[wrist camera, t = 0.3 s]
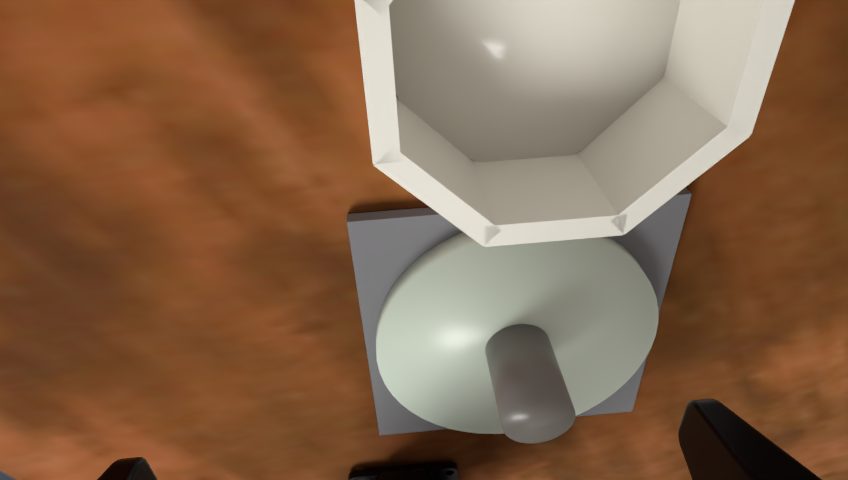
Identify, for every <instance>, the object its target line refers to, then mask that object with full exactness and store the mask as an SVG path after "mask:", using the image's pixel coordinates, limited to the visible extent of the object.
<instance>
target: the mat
mask: <svg viewBox="0 0 848 480" xmlns="http://www.w3.org/2000/svg"><path fill="white" fill-rule="evenodd" d="M691 195H692V194H691V192H690V191H689V190H688V189H687V188H686V187H685V188H684V189H682V190H681V191H680V192H678V193H677V194H676V195H675V196H673V197H672V198H671V199H670V200H668V201H667V202H666V203H664V204H663V205H662V206H661V207H659V208H658V209H657V210H655V211H654V212H653V213H652V214H650V215H649V216H648V217H647V218H645V219H644V220H643V221H641V222H640V223H639V224H638V225H636V226H635V227H634V228H633V229H631V230H630V231H629V232H627V233H626V234H625V235H624V234H623V235H621V236H610V237H612V238H613V239H615V240H616V241H617V242H619V243H620V244H621V245H623V246H624V247H625V248H626V249H627V250H628V251H629V252H630V253H631V254H632V255H633V256H634V258H635V259H636V261H637V262H638V264H639V265H640V267H641V268H642V270H643V272H644V273H645V275H646V276H647V278H648V279H649V281H650V283H651V285H652V287H653V290H654V292H655V295H656V298H657V304H658V315H659V312H660V308H661V304H662V301H663V297H664V293H665V290H666V286H667V282H668V279H669V275H670V272H671V268H672V264H673V261H674V257H675V253H676V250H677V246H678V242H679V239H680V235H681V231H682V228H683V224H684V221H685V217H686V213H687V210H688V206H689V202H690V199H691ZM347 226H348V233H349V239H350V246H351V252H352V259H353V265H354V272H355V278H356V285H357V291H358V298H359V304H360V311H361V317H362V324H363V330H364V337H365V343H366V350H367V356H368V363H369V369H370V376H371V382H372V389H373V395H374V402H375V408H376V415H377V421H378V428H379V434H380V435H391V434H401V433H411V432H422V431H432V430H443V429H449V428H446V427H442V426H439V425H436V424H434V423H431V422H429V421H427V420H424V419H422V418H421V417H419V416H417V415H415V414H414V413H412V412H411V411H409V410H408V409H407V408H405V407H404V406H403V405H402V404H400V403H399V402H398V400H397V399H396V398H395V397H394V396H393V395H392V394H391V393H390V391H389V390H388V388H387V387H386V385H385V384H384V381H383V379H382V377H381V375H380V372H379V368H378V364H377V358H376V327H377V320H378V316H379V313H380V310H381V307H382V304H383V302H384V300H385V298H386V296H387V294H388V292H389V290H390V289H391V287H392V286H393V285H394V283H395V282H396V280H397V279H398V278H399V277H400V275H401V274H402V273H403V272H404V271H405V270H406V269H407V268H408V267H409V266H410V265H411V264H412V263H413V262H415V261H416V260H417V259H418V258H419V257H421V256H422V255H423V254H424V253H426V252H427V251H429V250H430V249H432V248H433V247H435V246H437V245H438V244H440V243H441V242H443V241H445V240H447V239H449V238H451V237H453V236H455V235H457V234H459V233H462V232H463V231H462V230H460V229H459V228H457V227H456V226H455V225H453V224H452V223H451V222H449V221H448V220H447V219H445V218H444V217H443V216H441V215H440V214H439V213H437V212H436V211H434V210H433V209H432V208H430V207H426V208H414V209H402V210H390V211H377V212H365V213H353V214H347ZM646 359H647V356H646V358H645V360H644V362H643V363H642V364H641V366H640V367H639V368H638V370H637V371H636V372H635V374H634V375H633V376H632V377H631V378H630V379H629V380H628V381H627V382H626V383H625V384H624V385H623V386H622V387H621V388H619V389H618V390H617V391H616V392H615V393H614V394H612V395H611V396H609V397H608V398H607V399H605V400H604V401H602V402H601V403H599V404H597V405H596V406H594V407H592V408H591V409H589V410H587V411H585V412H583V413H581V414H579V415H577V416H576V417H578V416H588V415H599V414H609V413H619V412H630V411H632V410H633V406H634V403H635V399H636V395H637V392H638V388H639V385H640V381H641V377H642V374H643V370H644V366H645V363H646Z"/></svg>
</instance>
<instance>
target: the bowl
mask: <svg viewBox="0 0 848 480" xmlns="http://www.w3.org/2000/svg"><path fill="white" fill-rule="evenodd" d="M794 1H795V0H355V9H356V17H357V26H358V35H359V44H360V53H361V62H362V71H363V80H364V89H365V98H366V106H367V115H368V124H369V133H370V142H371V151H372V160H373V164H374V166H375V167H376V168H378V169H379V170H380V171H382V172H383V173H384V174H386V175H387V176H388V177H390V178H391V179H392V180H394V181H395V182H397V183H398V184H399V185H401V186H402V187H403V188H405V189H406V190H407V191H409V192H410V193H411V194H413V195H414V196H415V197H417V198H418V199H420V200H421V201H422V202H424V203H425V204H426V205H428V206H429V207H430V208H432V209H433V210H434V211H436V212H437V213H439V214H440V215H441V216H443V217H444V218H445V219H447V220H448V221H449V222H451V223H452V224H453V225H455V226H456V227H457V228H459V229H460V230H462V231H463V232H464V233H466V234H467V235H468V236H470V237H471V238H472V239H474V240H475V241H476V242H478V243H479V244H480V245H482V246H485V247H490V246H502V245H514V244H526V243H538V242H550V241H561V240H573V239H585V238H597V237H609V236H621V235H623V234H624V235H625V234H626V233H627V232H629V231H630V230H631V229H633V228H634V227H635V226H636V225H638V224H639V223H640V222H641V221H643V220H644V219H645V218H647V217H648V216H649V215H650V214H652V213H653V212H654V211H655V210H657V209H658V208H659V207H661V206H662V205H663V204H664V203H666V202H667V201H668V200H670V199H671V198H672V197H673V196H675V195H676V194H677V193H678V192H680V191H681V190H682V189H684V188H685V187H686V186H687V185H689V184H690V183H691V182H692V181H694V180H695V179H696V178H698V177H699V176H700V175H701V174H703V173H704V172H705V171H707V170H708V169H709V168H710V167H712V166H713V165H714V164H715V163H717V162H718V161H719V160H721V159H722V158H723V157H724V156H726V155H727V154H728V153H729V152H731V151H732V150H733V149H735V148H736V147H737V146H738V145H740V144H741V143H742V142H743V141H745V140H746V139H747V138H749V137H750V136H749V135H751V134H752V131H753V128H754V125H755V122H756V119H757V116H758V112H759V109H760V106H761V103H762V100H763V97H764V94H765V91H766V88H767V85H768V82H769V79H770V75H771V72H772V69H773V66H774V63H775V60H776V57H777V54H778V51H779V48H780V45H781V41H782V38H783V35H784V32H785V29H786V26H787V23H788V20H789V17H790V14H791V11H792V7H793V4H794Z"/></svg>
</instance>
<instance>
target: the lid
mask: <svg viewBox="0 0 848 480" xmlns="http://www.w3.org/2000/svg"><path fill="white" fill-rule="evenodd" d="M657 326H658V304H657V298H656V295H655V292H654V290H653V287H652V285H651V283H650V281H649V279H648V278H647V276H646V275H645V273H644V272H643V270H642V268H641V267H640V265H639V264H638V262H637V261H636V259H635V258H634V256H633V255H632V254H631V253H630V252H629V251H628V250H627V249H626V248H625V247H624V246H623V245H621V244H620V243H619V242H617V241H616V240H615V239H613V238H612V237H610V236H609V237H597V238H585V239H573V240H561V241H550V242H538V243H526V244H514V245H502V246H490V247H485V246H482V245H480V244H479V243H478V242H476V241H475V240H474V239H472V238H471V237H470V236H468V235H467V234H466V233H464V232H462V233H459V234H457V235H455V236H453V237H451V238H449V239H447V240H445V241H443V242H441V243H440V244H438V245H437V246H435V247H433V248H432V249H430V250H429V251H427V252H426V253H424V254H423V255H422V256H421V257H419V258H418V259H417V260H416V261H415V262H413V263H412V264H411V265H410V266H409V267H408V268H407V269H406V270H405V271H404V272H403V273H402V274H401V275H400V277H399V278H398V279H397V280H396V282H395V283H394V285H393V286H392V287H391V289H390V290H389V292H388V294H387V296H386V298H385V300H384V302H383V304H382V307H381V310H380V313H379V316H378V320H377V327H376V358H377V364H378V368H379V372H380V375H381V377H382V379H383V381H384V384H385V385H386V387H387V388H388V390H389V391H390V393H391V394H392V395H393V396H394V397H395V398H396V399H397V400H398V402H399V403H400V404H402V405H403V406H404V407H405V408H407V409H408V410H409V411H411V412H412V413H414V414H415V415H417V416H419V417H421V418H422V419H424V420H427V421H429V422H431V423H434V424H436V425H439V426H442V427H446V428H449V429H453V430H458V431H463V432H470V433H479V434H504V433H505V435H506V436H507V437H509V438H510V439H512V440H514V441H517V442H521V443H541V442H545V441H549V440H552V439H554V438H556V437H558V436H560V435H562V434H563V433H565V432H566V431H567V430H568V429H569V428H570V427H571V426H572V424H573V423H574V421H575V417H576V416H577V415H579V414H581V413H583V412H585V411H587V410H589V409H591V408H592V407H594V406H596V405H597V404H599V403H601V402H602V401H604V400H605V399H607V398H608V397H609V396H611V395H612V394H614V393H615V392H616V391H617V390H618V389H619V388H621V387H622V386H623V385H624V384H625V383H626V382H627V381H628V380H629V379H630V378H631V377H632V376H633V375H634V374H635V372H636V371H637V370H638V368H639V367H640V366H641V364H642V363H643V362H644V360H645V358H646V356H647V355H648V353H649V351H650V349H651V347H652V344H653V342H654V339H655V336H656V332H657Z"/></svg>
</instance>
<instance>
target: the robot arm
mask: <svg viewBox="0 0 848 480" xmlns="http://www.w3.org/2000/svg"><path fill="white" fill-rule="evenodd" d="M679 442H680V446H681V449H682V451H683V454H684V457H685V460H686V463H687V466H688V468H689V471H690V474H691V477H692V480H822V479H820V478H819V477H818V476H816V475H815V474H814V473H812V472H811V471H810V470H808V469H807V468H806V467H805V466H803V465H802V464H801V463H799V462H798V461H797V460H795V459H794V458H793V457H791V456H790V455H789V454H787V453H786V452H785V451H784V450H782V449H781V448H780V447H778V446H777V445H776V444H774V443H773V442H772V441H770V440H769V439H768V438H766V437H765V436H764V435H762V434H761V433H760V432H759V431H757V430H756V429H755V428H753V427H752V426H751V425H749V424H748V423H747V422H745V421H744V420H743V419H741V418H740V417H739V416H738V415H736V414H735V413H734V412H732V411H731V410H730V409H728V408H727V407H726V406H724V405H723V404H722V403H720V402H719V401H717V400H715V399H701V400H692V401H690V402H689V403H688V404H687V406H686V409H685V413H684V416H683V419H682V422H681V425H680V428H679ZM97 480H157V478H156V476H155V475H154V473H153V471H152V469H151V468H150V466H149V464H148V462H147V461H146V460H145V459H144V458H142V457H136V458H126V459H120V460H117V461H115V462H114V463H113V464H112V465H110V467H109V468H108V469H107V470H106V471H105V472H104V473H103V474H102V475H101V476H100V477H99V478H98V479H97ZM348 480H458V468H457V464H456V463H454V462H443V463H433V464H423V465H413V466H402V467H392V468H382V469H372V470H362V471H354V472H351V473H350V474H349V476H348Z"/></svg>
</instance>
